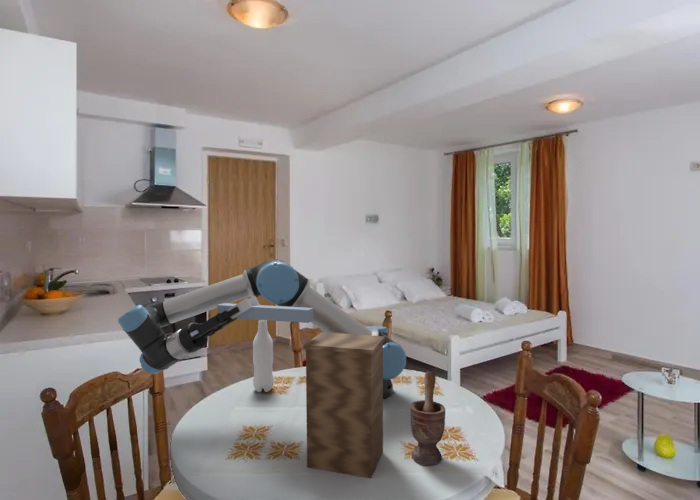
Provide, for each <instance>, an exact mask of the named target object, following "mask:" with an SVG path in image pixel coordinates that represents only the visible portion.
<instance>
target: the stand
mask: <svg viewBox="0 0 700 500" xmlns="http://www.w3.org/2000/svg"><path fill="white" fill-rule="evenodd" d="M384 341H385V336H371V335H357V334H343V333H328V332H324V331H322V332H320V333H319V334H317V335H316V336H314V337H312V338H311V339H309V340H308V341H307V342H305V343H303V344H302V349H303V350H305V375H306V376H305V381H306V383H305V385H306V386H305V387H306V388H305V391H306V392H305V393H306V397H305V399H306V401H305V402H306V406H305V407H306V408H305V409H306V410H305V411H306V412H305V413H306V468H307V469H308V468H309V469H315V470H320V471H326V472H332V473H333V472H334V473H337V474H344V475H349V476H357V477H361V478H367V479H372V478H373V476H374V474H375V471H376V470H377V467H378V465H379V462H380V460H381V458H382V456H383V453H384V398H383V342H384Z"/></svg>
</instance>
